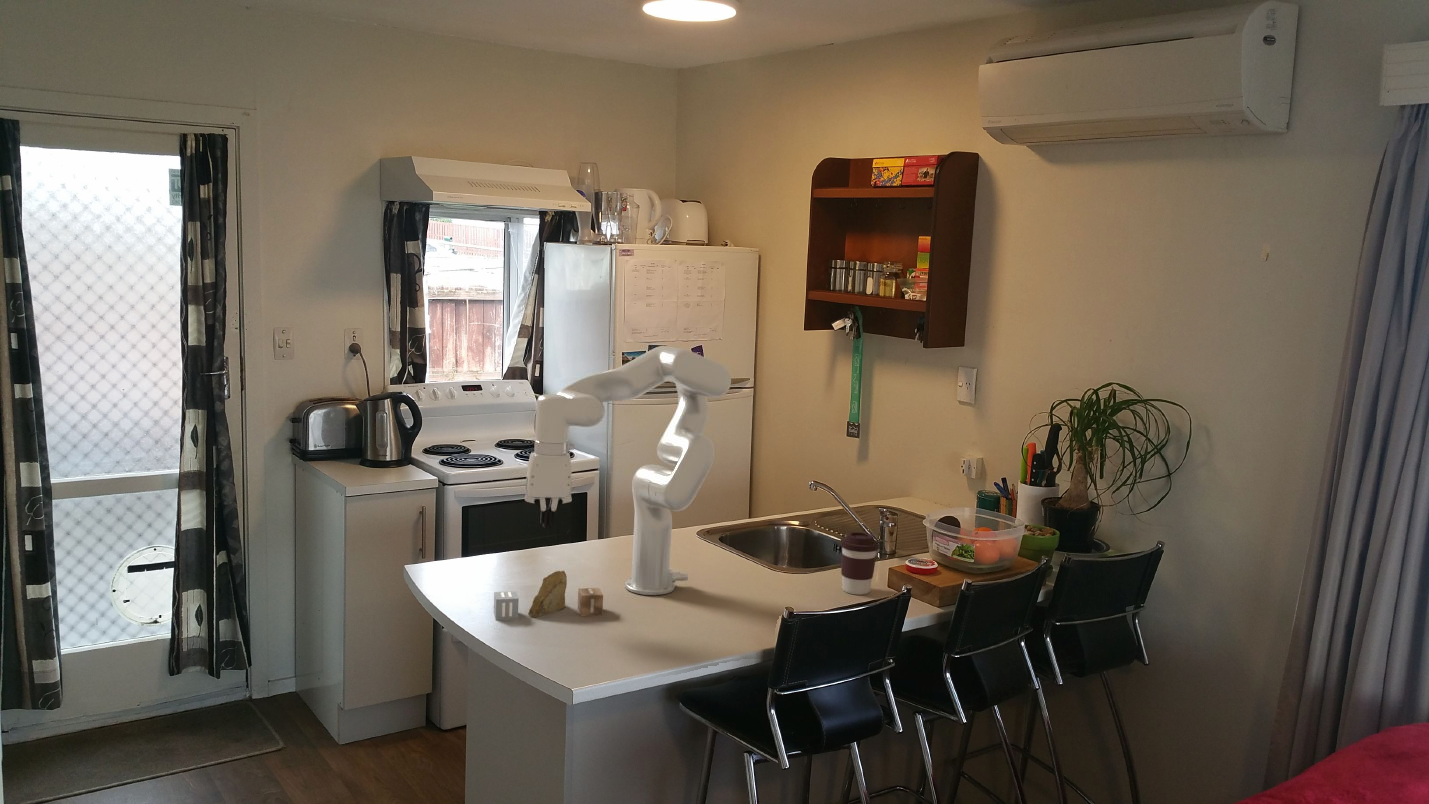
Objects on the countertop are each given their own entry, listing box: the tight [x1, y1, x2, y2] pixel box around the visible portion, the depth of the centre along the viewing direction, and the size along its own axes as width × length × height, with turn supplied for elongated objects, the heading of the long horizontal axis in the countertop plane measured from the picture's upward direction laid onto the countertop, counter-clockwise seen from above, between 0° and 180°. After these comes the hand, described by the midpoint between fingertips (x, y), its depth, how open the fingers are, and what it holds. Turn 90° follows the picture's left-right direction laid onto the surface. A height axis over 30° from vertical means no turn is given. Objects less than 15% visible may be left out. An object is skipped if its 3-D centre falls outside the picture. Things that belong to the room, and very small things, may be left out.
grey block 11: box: [493, 590, 520, 621], centre depth 238 cm, size 5×5×5 cm
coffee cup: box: [839, 531, 880, 596], centre depth 269 cm, size 10×10×15 cm
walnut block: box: [577, 587, 604, 617], centre depth 244 cm, size 5×5×5 cm
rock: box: [527, 570, 568, 618], centre depth 243 cm, size 11×9×10 cm
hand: (546, 526), depth 240 cm, fingers closed
